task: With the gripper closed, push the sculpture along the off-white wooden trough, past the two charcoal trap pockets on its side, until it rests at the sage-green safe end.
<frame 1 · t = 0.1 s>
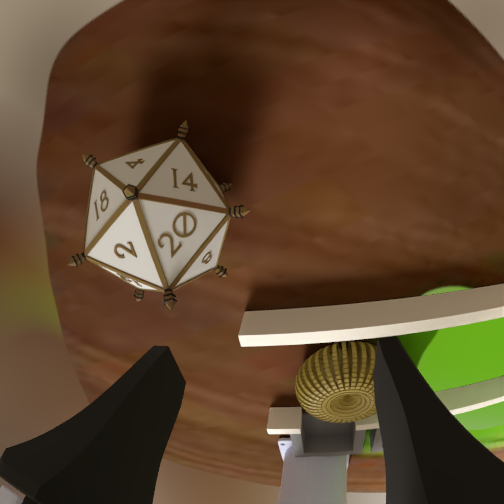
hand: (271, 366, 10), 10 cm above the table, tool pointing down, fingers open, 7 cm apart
game die: (184, 191, 19), on the table
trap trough: (416, 358, 22), on the table
sculpture: (345, 363, 24), on the table
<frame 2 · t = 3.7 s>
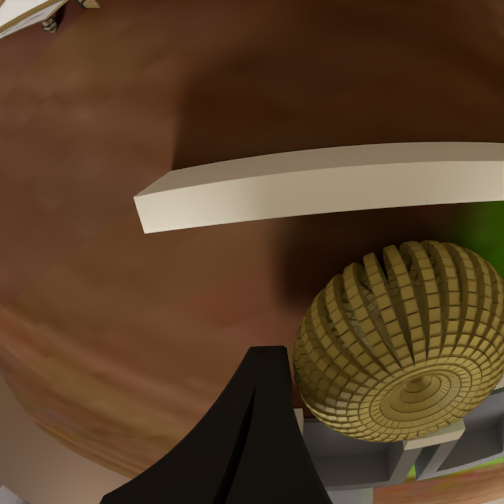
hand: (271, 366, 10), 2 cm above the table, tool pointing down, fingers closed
sculpture: (398, 314, 11), on the table, touching gripper
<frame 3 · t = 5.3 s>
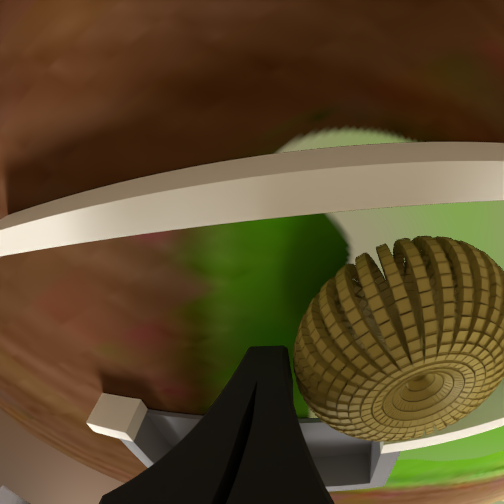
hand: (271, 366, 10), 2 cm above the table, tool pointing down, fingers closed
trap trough: (314, 327, 12), on the table
sculpture: (399, 311, 11), on the table, touching gripper
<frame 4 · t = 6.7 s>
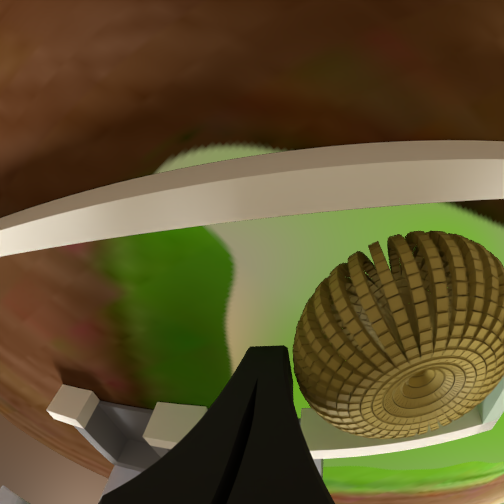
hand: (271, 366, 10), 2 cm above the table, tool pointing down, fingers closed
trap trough: (215, 331, 13), on the table
sculpture: (399, 307, 11), on the table, touching gripper
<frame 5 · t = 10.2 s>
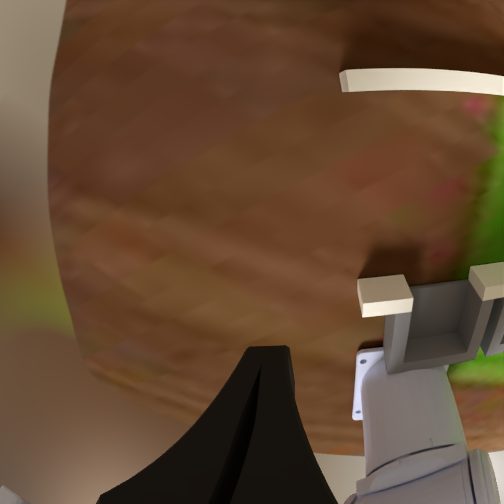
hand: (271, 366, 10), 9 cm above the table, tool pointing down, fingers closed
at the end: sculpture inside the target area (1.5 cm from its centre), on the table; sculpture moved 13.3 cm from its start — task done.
